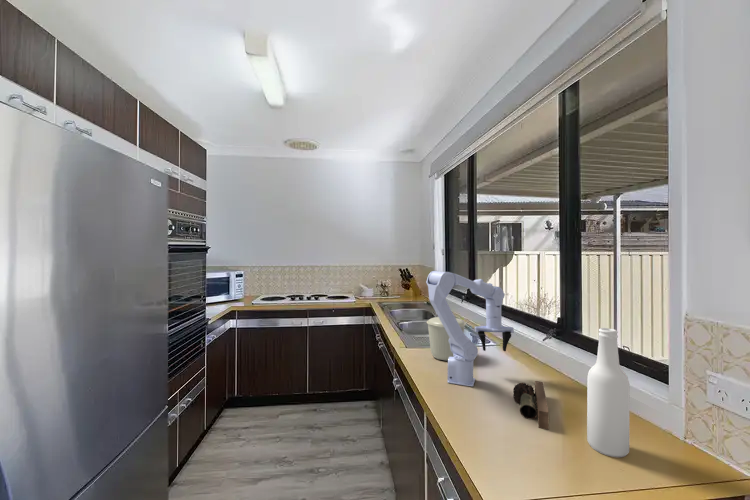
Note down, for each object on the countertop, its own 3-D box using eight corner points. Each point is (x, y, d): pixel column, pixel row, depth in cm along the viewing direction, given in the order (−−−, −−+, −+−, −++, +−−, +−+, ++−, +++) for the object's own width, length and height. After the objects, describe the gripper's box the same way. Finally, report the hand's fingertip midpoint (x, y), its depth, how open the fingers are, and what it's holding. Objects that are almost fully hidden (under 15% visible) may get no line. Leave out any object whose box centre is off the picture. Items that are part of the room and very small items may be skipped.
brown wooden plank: (538, 427, 95) (538, 410, 95) (534, 394, 117) (534, 380, 117) (548, 429, 94) (548, 412, 94) (542, 396, 116) (542, 382, 116)
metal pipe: (537, 421, 100) (537, 402, 100) (513, 417, 102) (512, 398, 102) (534, 397, 116) (534, 380, 116) (513, 393, 118) (513, 377, 118)
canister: (470, 364, 149) (470, 316, 149) (429, 363, 149) (429, 315, 149) (460, 351, 167) (460, 309, 167) (423, 351, 167) (424, 309, 168)
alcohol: (579, 444, 87) (580, 327, 87) (598, 435, 92) (598, 324, 92) (617, 462, 80) (618, 335, 80) (636, 452, 84) (636, 331, 84)
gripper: (476, 318, 131) (477, 352, 131) (515, 318, 129) (516, 353, 129) (473, 314, 138) (474, 347, 138) (510, 314, 136) (511, 348, 136)
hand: (494, 350), depth 134 cm, fingers open, 7 cm apart
